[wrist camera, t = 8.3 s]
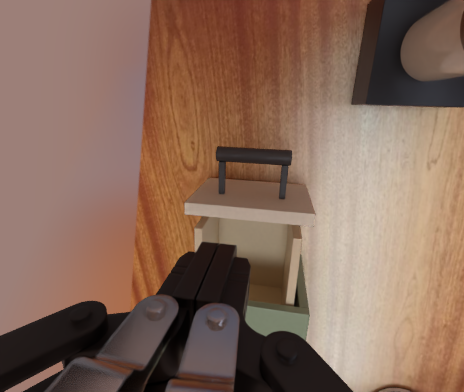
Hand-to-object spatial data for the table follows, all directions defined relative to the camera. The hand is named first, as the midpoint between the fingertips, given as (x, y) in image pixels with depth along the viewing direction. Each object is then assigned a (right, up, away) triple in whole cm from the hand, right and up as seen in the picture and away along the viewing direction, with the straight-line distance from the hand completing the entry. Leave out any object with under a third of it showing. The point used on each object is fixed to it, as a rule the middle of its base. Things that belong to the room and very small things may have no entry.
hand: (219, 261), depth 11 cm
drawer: (+3, 0, +22) cm, 22 cm away
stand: (+18, +16, +14) cm, 28 cm away
